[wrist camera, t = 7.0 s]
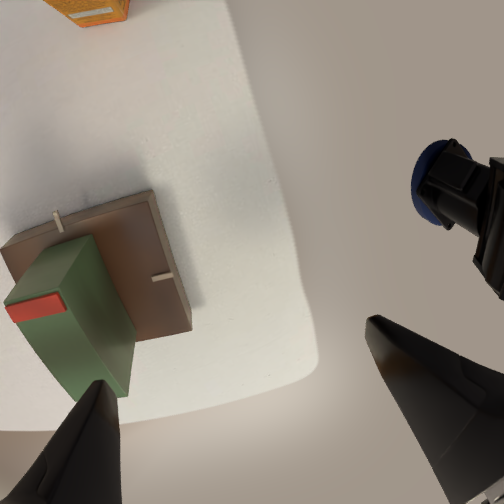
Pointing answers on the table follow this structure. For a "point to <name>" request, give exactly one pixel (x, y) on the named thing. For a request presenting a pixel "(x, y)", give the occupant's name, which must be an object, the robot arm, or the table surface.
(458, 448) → the robot arm
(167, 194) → the table surface
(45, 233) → the brown rectangular platform
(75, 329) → the green box
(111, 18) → the supplement box
